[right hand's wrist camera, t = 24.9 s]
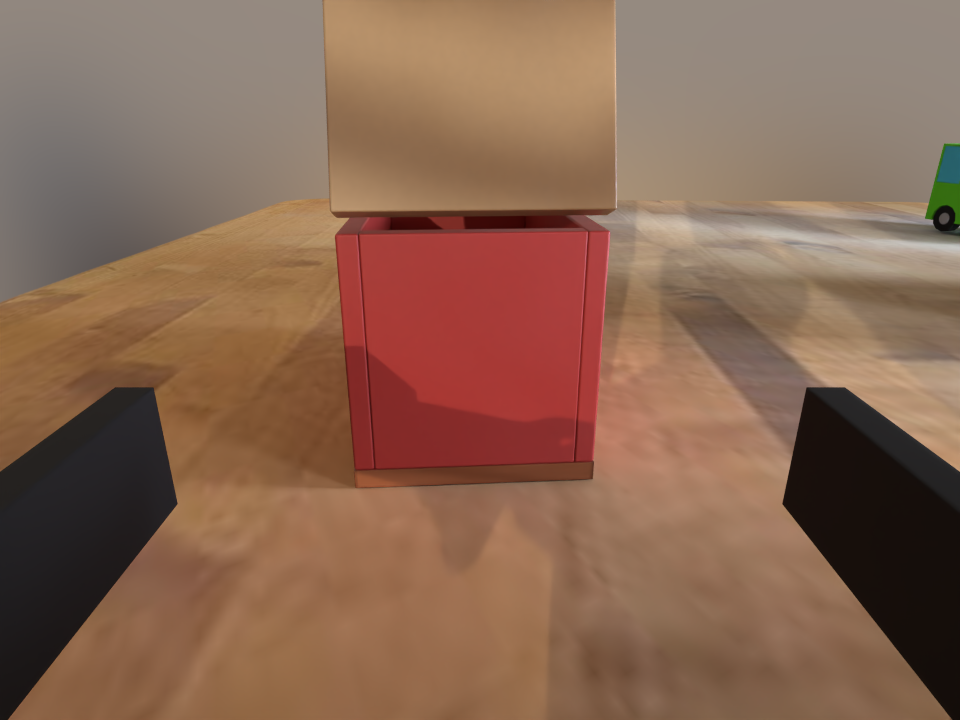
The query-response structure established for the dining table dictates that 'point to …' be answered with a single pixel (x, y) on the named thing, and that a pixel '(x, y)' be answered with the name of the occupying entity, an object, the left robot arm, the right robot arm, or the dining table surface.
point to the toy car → (946, 191)
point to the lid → (470, 107)
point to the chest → (472, 346)
